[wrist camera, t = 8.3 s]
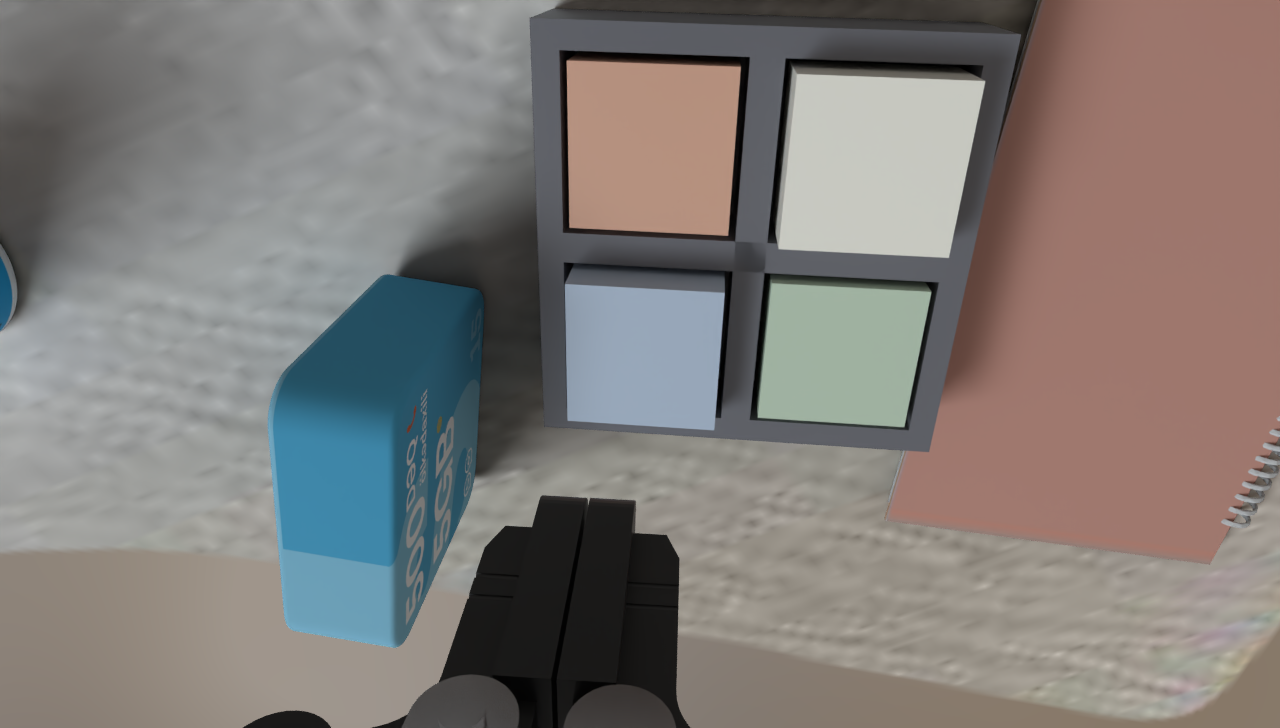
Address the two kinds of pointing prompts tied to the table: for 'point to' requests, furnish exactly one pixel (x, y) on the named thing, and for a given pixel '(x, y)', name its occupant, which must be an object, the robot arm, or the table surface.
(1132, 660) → the table surface
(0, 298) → the beverage bottle
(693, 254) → the keypad
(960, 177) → the cream key
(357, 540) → the data package
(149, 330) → the table surface
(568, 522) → the robot arm
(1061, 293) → the notebook
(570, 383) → the dusty blue key
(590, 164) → the terracotta key
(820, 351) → the sage key
